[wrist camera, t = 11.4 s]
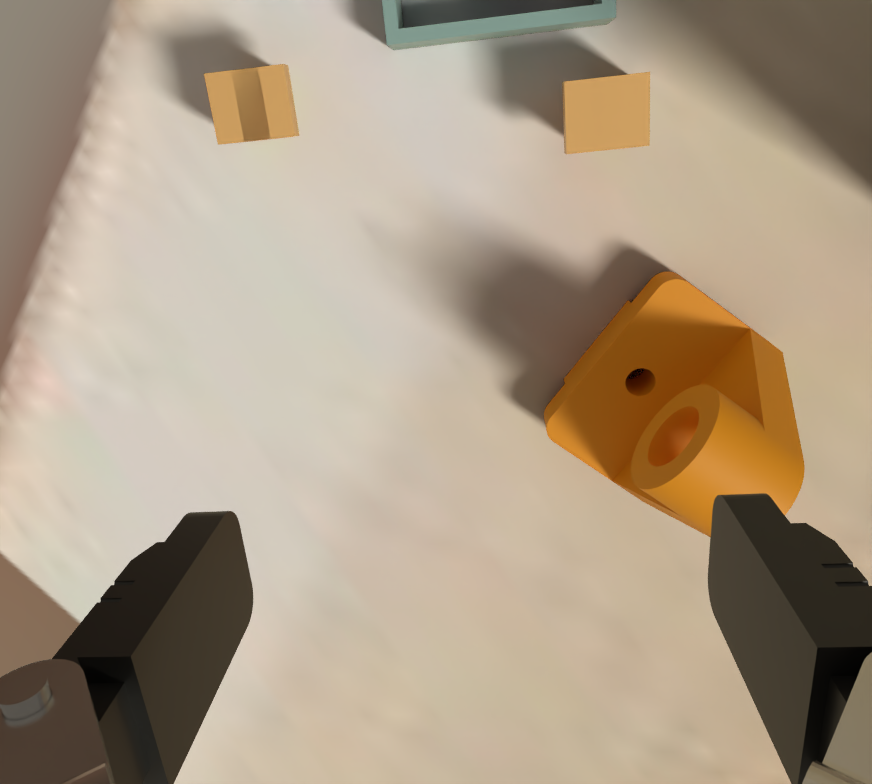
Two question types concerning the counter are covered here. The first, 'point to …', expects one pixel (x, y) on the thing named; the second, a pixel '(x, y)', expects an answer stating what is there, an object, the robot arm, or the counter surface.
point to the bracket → (681, 406)
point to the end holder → (491, 24)
